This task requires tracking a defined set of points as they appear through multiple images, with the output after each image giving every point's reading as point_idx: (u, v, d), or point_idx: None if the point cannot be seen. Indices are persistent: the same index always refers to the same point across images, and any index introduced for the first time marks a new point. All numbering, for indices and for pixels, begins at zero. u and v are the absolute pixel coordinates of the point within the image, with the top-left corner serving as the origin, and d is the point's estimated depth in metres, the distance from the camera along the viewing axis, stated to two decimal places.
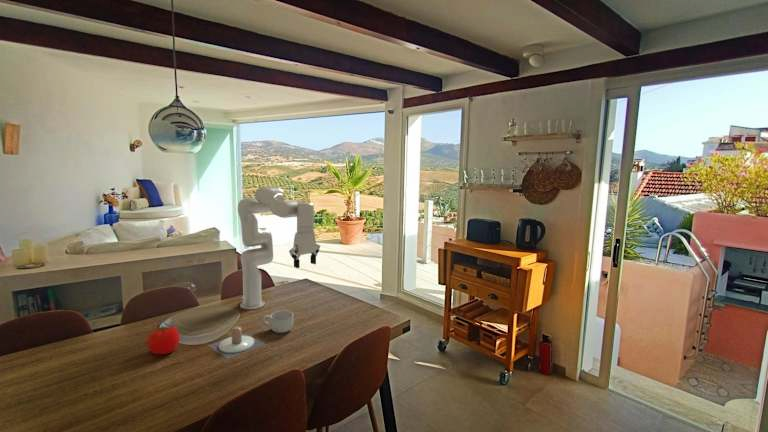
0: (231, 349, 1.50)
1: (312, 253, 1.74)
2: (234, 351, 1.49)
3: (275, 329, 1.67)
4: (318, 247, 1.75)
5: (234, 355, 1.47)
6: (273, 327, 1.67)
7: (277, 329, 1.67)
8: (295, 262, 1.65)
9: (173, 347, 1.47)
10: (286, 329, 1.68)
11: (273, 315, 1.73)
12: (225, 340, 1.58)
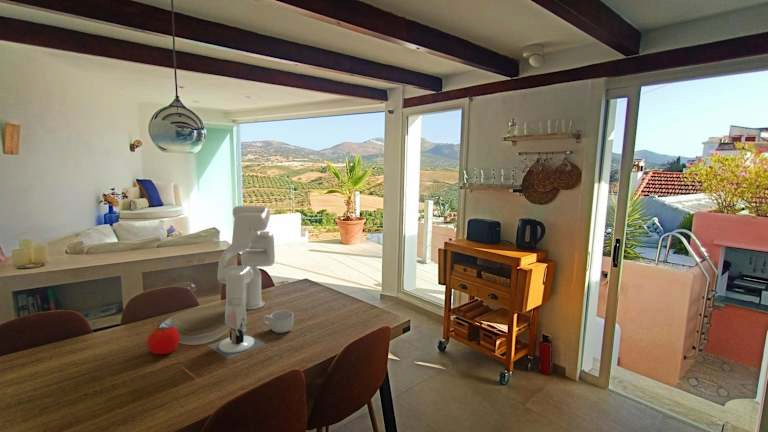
0: (231, 349, 1.50)
1: (231, 328, 1.56)
2: (234, 351, 1.49)
3: (275, 329, 1.67)
4: None
5: (234, 355, 1.47)
6: (273, 327, 1.67)
7: (277, 329, 1.67)
8: (241, 337, 1.54)
9: (173, 347, 1.47)
10: (286, 329, 1.68)
11: (273, 315, 1.73)
12: (225, 340, 1.58)
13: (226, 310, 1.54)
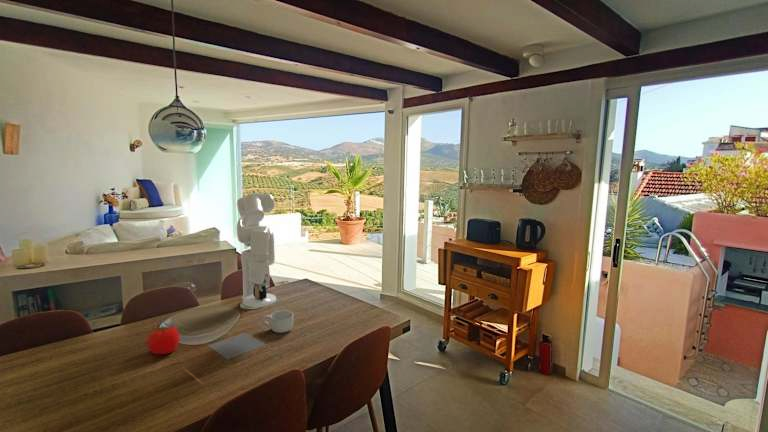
0: (255, 303, 1.57)
1: None
2: (258, 305, 1.56)
3: (275, 329, 1.67)
4: None
5: (234, 355, 1.47)
6: (273, 327, 1.67)
7: (277, 329, 1.67)
8: (264, 293, 1.61)
9: (173, 347, 1.47)
10: (286, 329, 1.68)
11: (273, 315, 1.73)
12: (249, 296, 1.65)
13: (250, 267, 1.61)
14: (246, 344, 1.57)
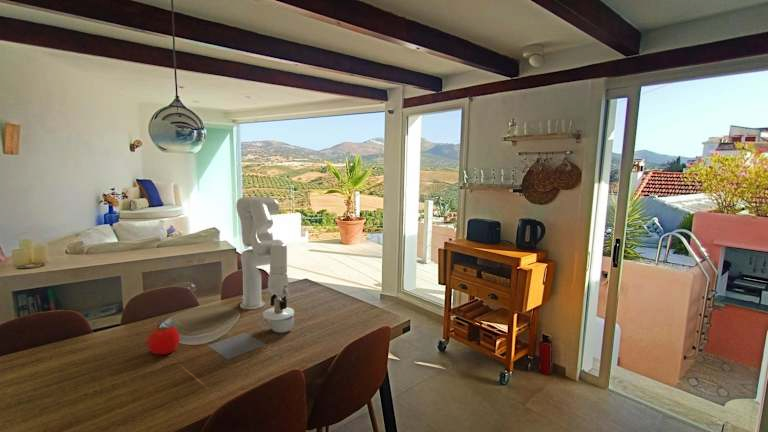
0: (275, 317, 1.65)
1: (272, 295, 1.72)
2: (278, 318, 1.64)
3: (275, 329, 1.67)
4: None
5: (234, 355, 1.47)
6: (273, 327, 1.67)
7: (277, 329, 1.67)
8: (285, 303, 1.68)
9: (173, 347, 1.47)
10: (286, 329, 1.68)
11: None
12: (268, 310, 1.73)
13: (269, 279, 1.69)
14: (246, 344, 1.57)
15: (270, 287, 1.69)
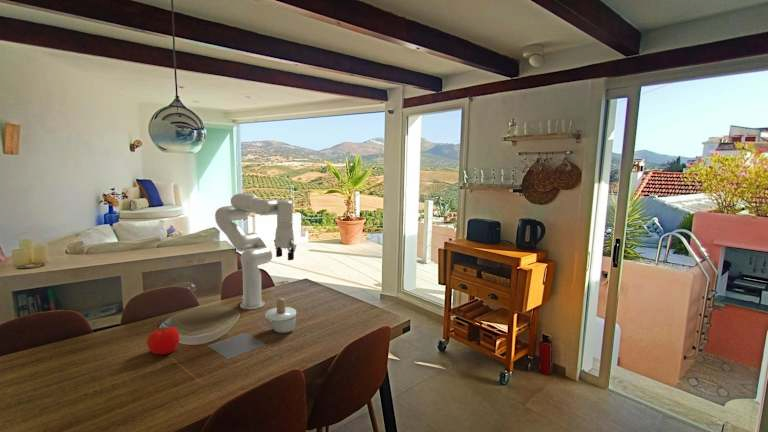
0: (277, 317, 1.65)
1: (277, 247, 1.89)
2: (280, 318, 1.64)
3: (277, 329, 1.67)
4: None
5: (234, 355, 1.47)
6: (275, 327, 1.67)
7: (279, 329, 1.67)
8: (292, 255, 1.83)
9: (173, 347, 1.47)
10: (288, 329, 1.68)
11: None
12: (270, 310, 1.73)
13: (276, 234, 1.85)
14: (246, 344, 1.57)
15: (277, 241, 1.85)
